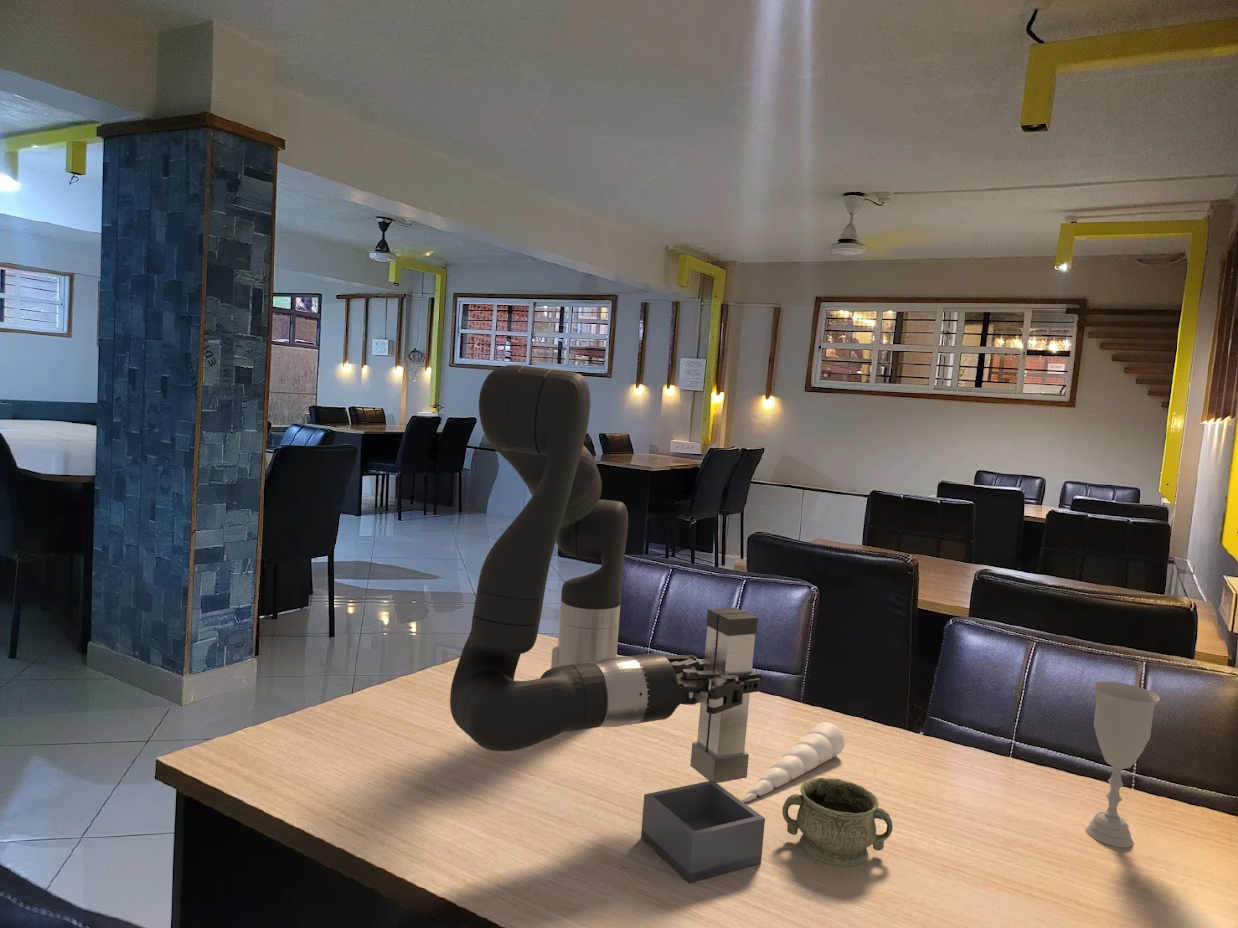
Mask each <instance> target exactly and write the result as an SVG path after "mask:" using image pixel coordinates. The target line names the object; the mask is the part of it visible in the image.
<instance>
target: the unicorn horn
mask: <svg viewBox="0 0 1238 928" xmlns="http://www.w3.org/2000/svg"><path fill="white" fill-rule="evenodd" d="M844 748H845V739H844V735H843V733H842V731H841V730H840V727H837V726H836V725H835V724H834V723H831V722H827V721H826V722H825V721H824V722H823V721H822V722H819V723H818V724H816V725H814V726H813V727H812V728H811V729H810V730H809V731H808V732H807V733H806V734H805V735H804V736H803V737H801V739H799V740H798V741H797V742H796V743H795V744H793V746H792V747H791V748H790V749H788V751H786V752H785V753H784V754H783V755H782V756H781V757H780V758H779V759H778V760H777V761H776V762H775V763H774V764H773V765H772V766H771V767H769V769H768V770H767V771H766V772H765V773H764V774H763V775H762V776H761V777H760V778H759V779H758V780H757V781H756V782H755V783H754V784H753V786H751V788H750V789H749V790H748V791H747V792H746V794H745V795H744V796H743V798H742V799H741V801H742V802H743V803H747V802H750V801H753V800H755V799H757V797H761V796H763V795H765V794H767V793H770V792H771V791H774V789H777V788H779V787H781V786H783V785H786V784H787V783H789V782H791V781H793V780H795V779H796V778H799V777H801V776H803V774H806V773H808V772H809V771H811V770H813V769H815V768H817V767H818V766H820V765H822V764H824V763H826V762H828V761H829V760H831V759H832V758H835V757H837V756H839V755H840V754H841V753H842V752H843V750H844Z"/></svg>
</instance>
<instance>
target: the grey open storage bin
mask: <svg viewBox="0 0 1238 928" xmlns="http://www.w3.org/2000/svg"><path fill="white" fill-rule="evenodd" d="M642 806H643V807H642V817H641V818H642V819H641V821H642V822H641V832H640V838H641V840H642V841H644V842H645V843H646V844H647V845H648V846H649V847H650V848H651V849H652V850H653V851H654V852H655V853H656V854H658V856H660V858H661V859H663V861H665V862H666V863H667V864H668V865H669V866H670V867H671V868H672V869H674V871H676V873H678V874H679V876H680V877H682V878H683V880H685V881H686V882H687V883H688V884H690V883H691V884H692V883H695V882H698V881H702V880H706V879H709V878H713V877H716V876H721V875H724V874H727V873H731V872H734V871H738V870H741V869H747V868H749V867H752V866H756V865H760V864H762V857H763V845H764V833H765V821H766V818H765V817H764V816H763V815H762V814H760V813H759V812H757V811H756V810H754V809H753V808H752V807H750V806H749V805H748V804H746V802H742V799H740V798H738V797H737V796H735V795H733V794H732V793H731V792H729V791H728V790H727V789H725V788H724V787H723V786H721V785H720V784H719V783H716V782H714V781H713V780H712V781H709V780H706V781H702V782H698V783H694V784H688V785H683V786H679V787H673V788H669V789H665V790H664V789H663V790H659V791H655V792H654V791H653V792H648V793H644V794H643V805H642Z"/></svg>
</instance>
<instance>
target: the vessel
mask: <svg viewBox="0 0 1238 928" xmlns="http://www.w3.org/2000/svg"><path fill="white" fill-rule="evenodd" d="M799 791H800V794H796V793H794V794H791V795H789V796H788V797H787V798H786V799H785V801H784V804H783V805H782V810H781V811H782V817H783V820H784V821H785V823H786V825H787V826H786V827H787V828H786V830H787V833H788V834H790V835H793V836H795V835H797V834H798V833H799V832H798V830H800V832H801V833H802V834H801V836H800V837H799V845H800V847H801V848H802V849H803V851H804V852H805V853H806V854H808V855H810V856H811V857H812V858H813V859H815V860H817V861H819V862H821V863H824V864H828V865H832V866H836V867H854V866H859V865H861V864H862V863H864V862H866V861H867V859H868V857H869V851H868V849H867V848H869V847H871V846H872V848H873V850H874V851H878V852H879V851H882V850H883V849H884V843H885V841H886V840H887V839H889V837H890V836H891V834H892V833H893V832H892V831H893V822H892V818H891V816H890V814H889V812H888V811H886V810H885V809H884V808H881V807H879V806H880V802H879V800H878V799H879V798H878V797H876V795H875V794H874V793H873V792H871V791H870V790H868V789H867V788H865V787H863V786H861V785H859V784H857V783H856V782H855V783H854V782H851V781H848V780H844V779H841V778H840V779H839V778H832V777H831V778H830V777H829V778H828V777H815V778H810V779H809V780H806V781H804V782H803V783H801V786H800V788H799ZM793 805H795V806H799V808H798V811H797V812H796V813H797V814H796V819H794V818H792V817H790V814H789V809H790V807H791V806H793ZM875 819H878V820H881V821H884V822H885V824H886V830H885V832H883V833H881V834H877V825H876V821H875Z"/></svg>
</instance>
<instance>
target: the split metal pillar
mask: <svg viewBox="0 0 1238 928" xmlns="http://www.w3.org/2000/svg"><path fill="white" fill-rule="evenodd" d="M706 616H707V617H706V626H707V628H706V629H707V630H706V637H705V638H706V640H705V648H704V649H705V650H704V659H705V660H704V671H716V672H717V673H718V674H719V675H738V674H746V673H753V664H754V663H753V662H754V654H755V653H754V652H755V651H754V650H755V642H756V641H755V640H756V635H757V633H758V622H759V617H758V616H755V615H753V614H751V613H749V612H746V611H744V610H742V609H739V608H737V607H725V608H724V607H722V608H711V609H709V608H707V614H706ZM708 680H709V689H711V679H708ZM727 683H728V682H723V683H721V684H720V686H721V685H724V684H727ZM709 689H708V690H709ZM750 695H751V693H745V694H743V698H742V704H741V705H738V706H735V707H733V708H730V709H727V710H724V711H722V712H719V713H716V714H710V713H707V712H706V710H707V705H705V704H703V703H700V705H699V717H698V729H697V741H693V742H692V743H691V754H690V764H689V767H691V768H693V770H695V771H696V772H697V773H698V774H700V775H701V776H702V777H704V778H705V779H706V781H712V780H713V781H714V782H716V783H717V784H720V783H725V782H730V781H736V780H742V779H746V778H747V777H748V767H749V759H750V758H749V757H750V754H749V753H748V752H746V751H745V750H746V749H745V747H746V738H747V727H748V715H749V705H750Z"/></svg>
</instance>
